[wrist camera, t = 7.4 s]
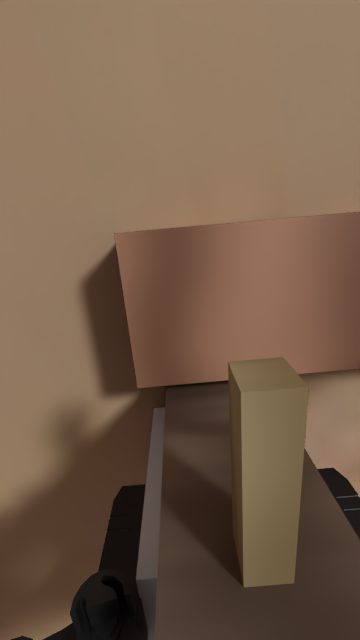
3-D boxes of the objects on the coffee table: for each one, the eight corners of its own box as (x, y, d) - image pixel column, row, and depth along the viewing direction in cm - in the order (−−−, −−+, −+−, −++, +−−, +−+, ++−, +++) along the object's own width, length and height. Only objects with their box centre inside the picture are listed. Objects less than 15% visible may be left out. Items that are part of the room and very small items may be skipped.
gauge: (177, 475, 14) (186, 931, 5) (157, 285, 11) (78, 564, 2) (254, 468, 14) (406, 916, 5) (255, 277, 11) (661, 514, 2)
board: (143, 358, 13) (137, 388, 10) (126, 232, 11) (114, 233, 8) (470, 329, 13) (539, 352, 10) (505, 199, 11) (598, 191, 8)
